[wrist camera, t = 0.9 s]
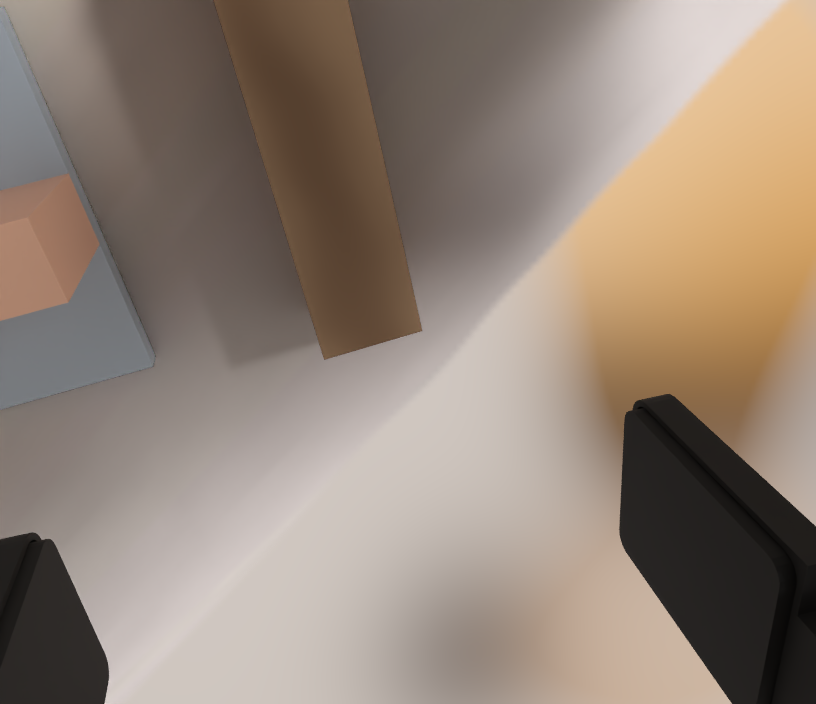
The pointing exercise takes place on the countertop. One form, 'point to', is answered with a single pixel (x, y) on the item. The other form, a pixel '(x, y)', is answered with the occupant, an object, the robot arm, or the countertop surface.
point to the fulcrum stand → (53, 257)
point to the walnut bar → (324, 165)
